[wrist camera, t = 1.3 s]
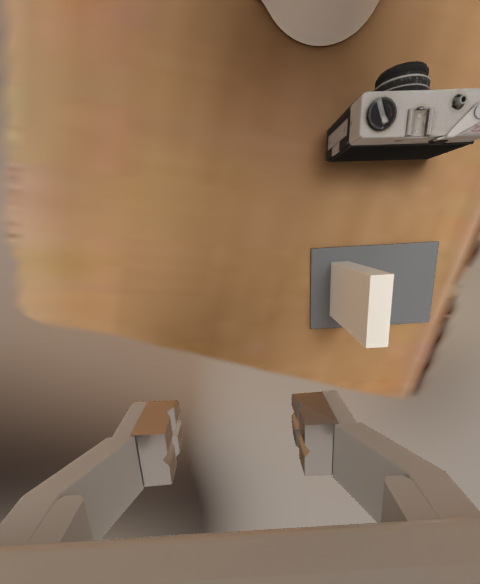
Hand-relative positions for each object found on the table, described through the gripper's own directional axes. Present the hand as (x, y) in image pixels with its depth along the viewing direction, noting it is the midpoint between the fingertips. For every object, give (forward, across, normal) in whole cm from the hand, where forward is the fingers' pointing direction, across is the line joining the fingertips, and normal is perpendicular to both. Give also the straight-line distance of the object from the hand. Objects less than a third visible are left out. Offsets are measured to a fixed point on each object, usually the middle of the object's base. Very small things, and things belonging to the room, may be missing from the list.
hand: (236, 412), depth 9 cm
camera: (+30, -20, -18) cm, 40 cm away
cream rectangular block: (+29, -15, +3) cm, 32 cm away
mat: (+29, -20, +3) cm, 35 cm away
